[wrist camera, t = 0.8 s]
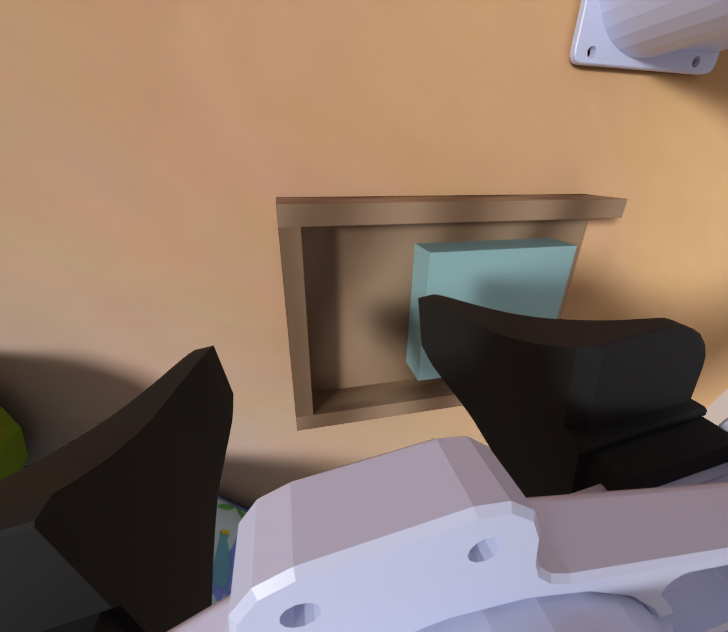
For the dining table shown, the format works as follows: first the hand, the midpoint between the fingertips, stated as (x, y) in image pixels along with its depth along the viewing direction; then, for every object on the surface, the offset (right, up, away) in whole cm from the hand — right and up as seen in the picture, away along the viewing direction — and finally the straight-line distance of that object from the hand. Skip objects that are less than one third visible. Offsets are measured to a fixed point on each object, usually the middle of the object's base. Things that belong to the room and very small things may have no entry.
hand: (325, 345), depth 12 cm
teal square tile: (+9, +2, +10) cm, 13 cm away
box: (+6, +2, +10) cm, 12 cm away
